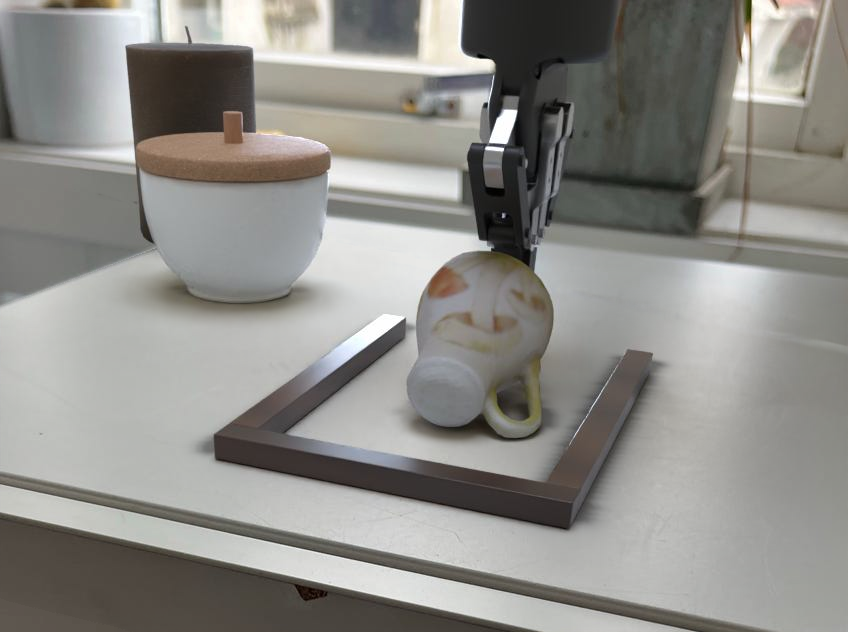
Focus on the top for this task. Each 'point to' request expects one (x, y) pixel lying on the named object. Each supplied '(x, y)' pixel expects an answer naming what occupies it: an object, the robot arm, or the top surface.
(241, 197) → the lidded bowl
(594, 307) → the top surface
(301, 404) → the frame
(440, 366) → the mug
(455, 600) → the top surface
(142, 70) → the pillar candle
